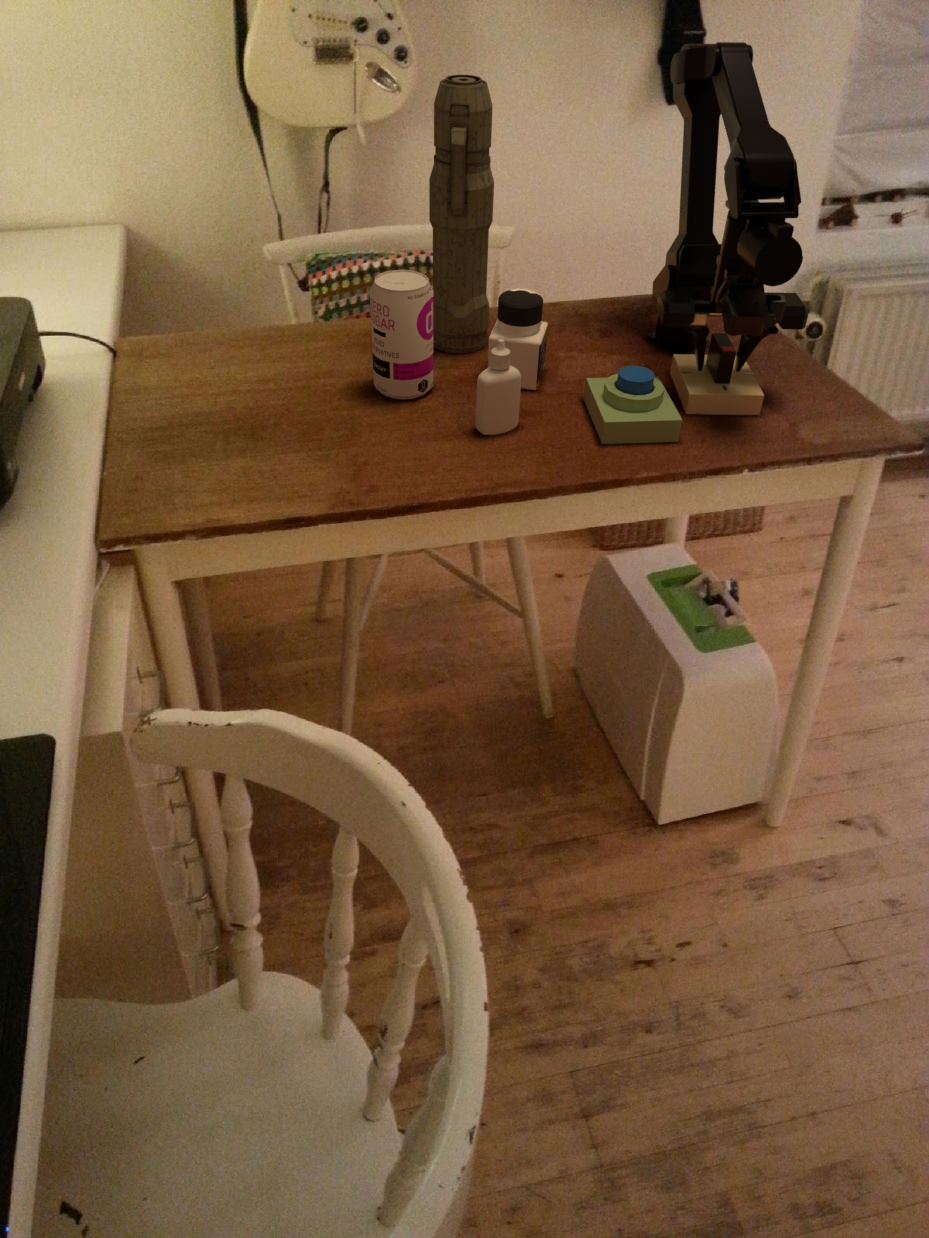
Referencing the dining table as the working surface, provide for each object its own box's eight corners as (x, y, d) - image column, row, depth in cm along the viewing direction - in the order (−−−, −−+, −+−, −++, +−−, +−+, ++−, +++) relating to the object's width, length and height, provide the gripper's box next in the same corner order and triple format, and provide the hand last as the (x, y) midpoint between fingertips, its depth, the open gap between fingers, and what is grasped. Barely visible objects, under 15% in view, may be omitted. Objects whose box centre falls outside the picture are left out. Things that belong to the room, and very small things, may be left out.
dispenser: (583, 399, 130) (587, 365, 127) (654, 397, 131) (660, 363, 128) (601, 444, 121) (606, 409, 118) (678, 442, 122) (685, 407, 119)
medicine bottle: (537, 391, 131) (543, 307, 124) (486, 385, 132) (489, 301, 125) (544, 368, 137) (551, 286, 129) (495, 363, 138) (499, 281, 130)
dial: (705, 363, 132) (712, 331, 129) (720, 363, 133) (726, 331, 129) (714, 383, 128) (722, 350, 125) (729, 383, 128) (737, 350, 125)
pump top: (612, 380, 124) (614, 366, 123) (647, 379, 125) (649, 365, 124) (620, 397, 121) (622, 382, 120) (656, 396, 121) (658, 381, 120)
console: (669, 373, 137) (672, 352, 135) (739, 374, 137) (744, 354, 135) (684, 414, 128) (689, 393, 125) (760, 415, 128) (765, 394, 126)
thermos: (429, 358, 138) (428, 89, 116) (428, 324, 147) (428, 68, 124) (489, 358, 139) (501, 90, 116) (485, 324, 148) (496, 69, 125)
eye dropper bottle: (474, 419, 125) (477, 332, 117) (517, 420, 125) (523, 333, 117) (475, 436, 122) (478, 348, 114) (519, 436, 122) (525, 348, 114)
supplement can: (441, 379, 133) (442, 273, 124) (420, 406, 127) (419, 296, 118) (388, 370, 135) (384, 264, 126) (364, 395, 129) (359, 287, 120)
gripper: (681, 278, 113) (660, 397, 124) (835, 281, 114) (802, 399, 124) (664, 245, 122) (646, 359, 132) (809, 248, 122) (779, 361, 133)
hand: (718, 370), depth 130 cm, fingers open, 5 cm apart
